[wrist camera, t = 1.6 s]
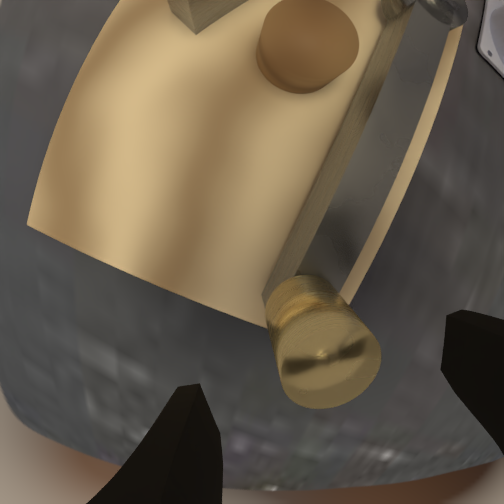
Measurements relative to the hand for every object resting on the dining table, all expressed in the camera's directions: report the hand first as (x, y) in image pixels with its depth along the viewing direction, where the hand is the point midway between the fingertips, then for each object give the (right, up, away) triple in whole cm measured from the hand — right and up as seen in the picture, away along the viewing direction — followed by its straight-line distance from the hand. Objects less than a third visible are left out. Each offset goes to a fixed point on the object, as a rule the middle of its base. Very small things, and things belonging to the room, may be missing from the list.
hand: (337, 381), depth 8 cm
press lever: (+3, +9, +5) cm, 11 cm away
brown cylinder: (0, +13, +5) cm, 14 cm away
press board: (-2, +12, +7) cm, 14 cm away
